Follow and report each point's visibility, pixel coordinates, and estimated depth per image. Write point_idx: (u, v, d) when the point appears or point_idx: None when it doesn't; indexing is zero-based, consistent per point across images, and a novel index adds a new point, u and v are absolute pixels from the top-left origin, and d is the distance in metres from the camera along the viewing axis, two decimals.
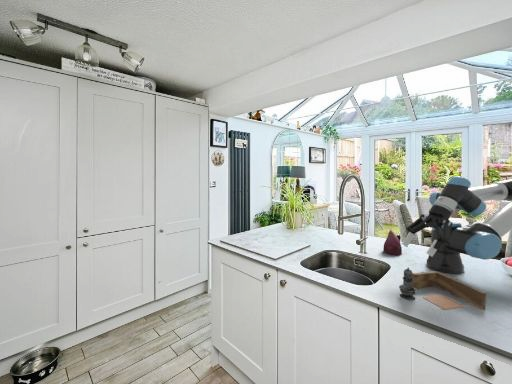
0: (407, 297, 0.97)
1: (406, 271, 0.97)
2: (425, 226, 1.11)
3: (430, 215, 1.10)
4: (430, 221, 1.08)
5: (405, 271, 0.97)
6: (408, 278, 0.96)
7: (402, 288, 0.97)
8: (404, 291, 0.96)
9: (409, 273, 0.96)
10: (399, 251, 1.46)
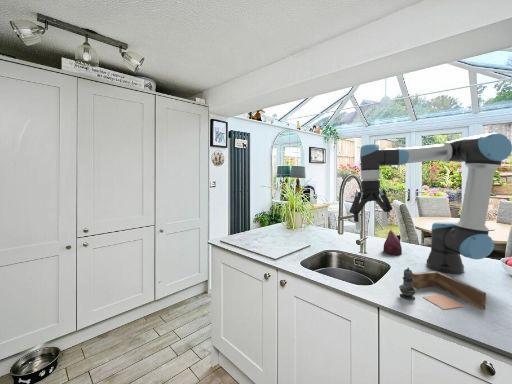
0: (407, 297, 0.97)
1: (406, 271, 0.97)
2: (377, 201, 1.11)
3: None
4: None
5: (405, 271, 0.97)
6: (408, 278, 0.96)
7: (402, 288, 0.97)
8: (404, 291, 0.96)
9: (409, 273, 0.96)
10: (399, 251, 1.46)
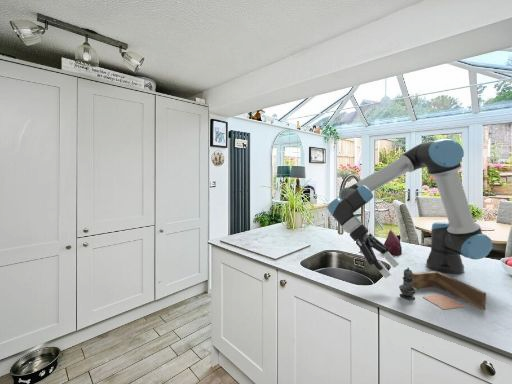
0: (407, 297, 0.97)
1: (406, 271, 0.97)
2: (374, 244, 1.07)
3: None
4: None
5: (405, 271, 0.97)
6: (408, 278, 0.96)
7: (402, 288, 0.97)
8: (404, 291, 0.96)
9: (409, 273, 0.96)
10: (399, 251, 1.46)
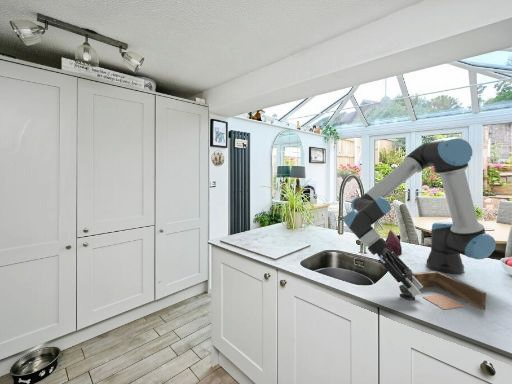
0: (407, 297, 0.97)
1: (406, 271, 0.97)
2: (394, 260, 1.02)
3: None
4: None
5: (405, 270, 0.97)
6: (408, 278, 0.96)
7: (402, 288, 0.97)
8: (404, 291, 0.96)
9: (409, 273, 0.96)
10: (399, 251, 1.46)
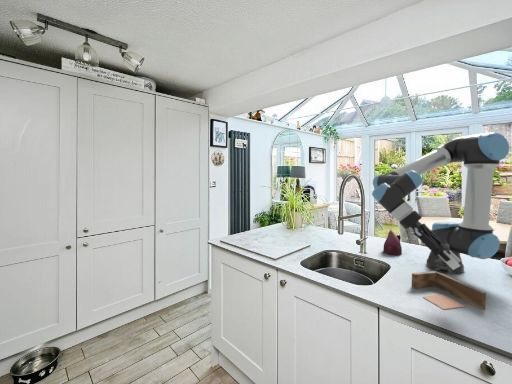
0: (444, 271, 0.92)
1: (443, 244, 0.92)
2: None
3: None
4: None
5: (442, 243, 0.92)
6: None
7: (439, 262, 0.92)
8: (441, 265, 0.91)
9: (447, 246, 0.91)
10: (399, 251, 1.46)
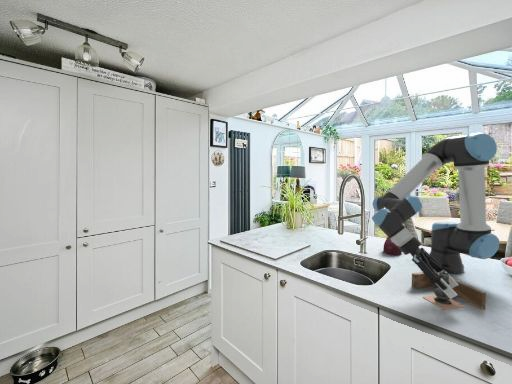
0: (443, 301, 0.93)
1: (442, 274, 0.93)
2: (428, 259, 0.98)
3: None
4: None
5: (441, 273, 0.93)
6: None
7: (438, 292, 0.93)
8: (440, 295, 0.92)
9: (446, 276, 0.92)
10: (399, 251, 1.46)
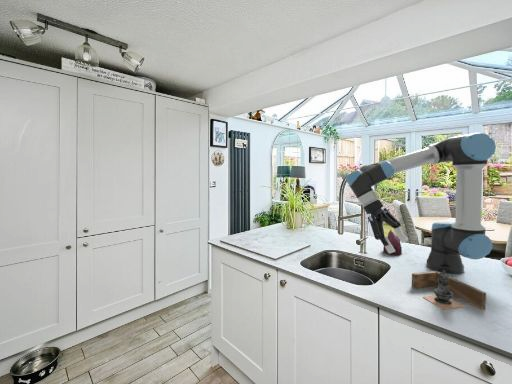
0: (443, 301, 0.93)
1: (442, 274, 0.93)
2: (387, 219, 1.09)
3: None
4: None
5: (441, 274, 0.93)
6: (444, 281, 0.92)
7: (438, 292, 0.93)
8: (440, 295, 0.92)
9: (446, 276, 0.92)
10: (399, 251, 1.46)
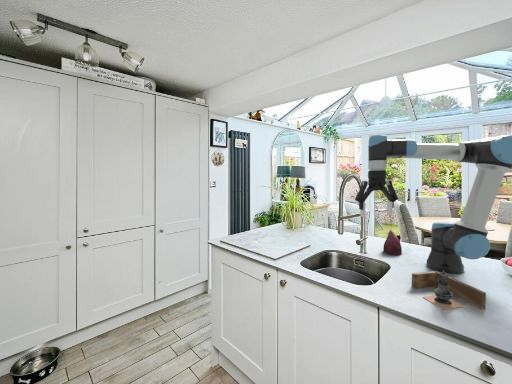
0: (443, 301, 0.93)
1: (442, 274, 0.93)
2: (383, 190, 1.15)
3: None
4: None
5: (440, 274, 0.93)
6: (444, 281, 0.92)
7: (438, 292, 0.93)
8: (440, 295, 0.92)
9: (445, 276, 0.92)
10: (399, 251, 1.46)
